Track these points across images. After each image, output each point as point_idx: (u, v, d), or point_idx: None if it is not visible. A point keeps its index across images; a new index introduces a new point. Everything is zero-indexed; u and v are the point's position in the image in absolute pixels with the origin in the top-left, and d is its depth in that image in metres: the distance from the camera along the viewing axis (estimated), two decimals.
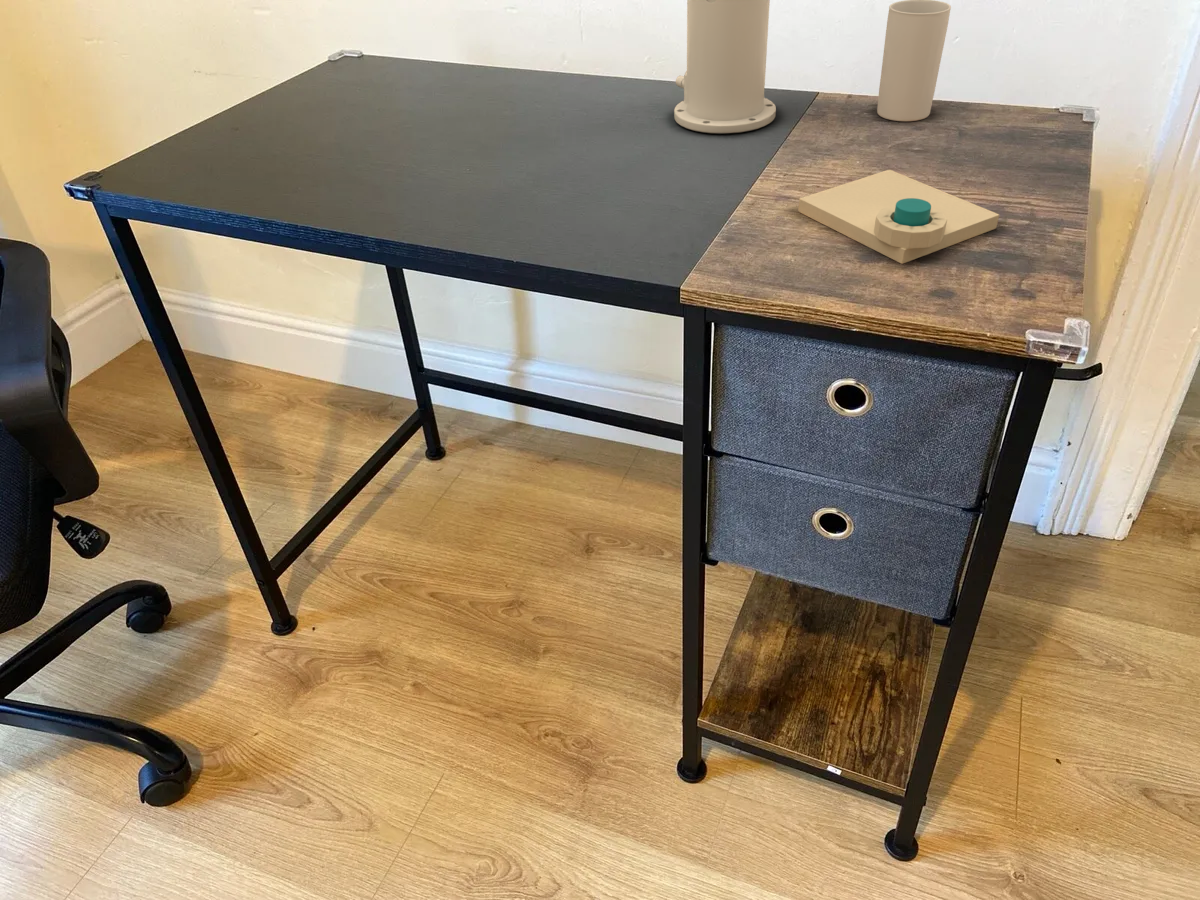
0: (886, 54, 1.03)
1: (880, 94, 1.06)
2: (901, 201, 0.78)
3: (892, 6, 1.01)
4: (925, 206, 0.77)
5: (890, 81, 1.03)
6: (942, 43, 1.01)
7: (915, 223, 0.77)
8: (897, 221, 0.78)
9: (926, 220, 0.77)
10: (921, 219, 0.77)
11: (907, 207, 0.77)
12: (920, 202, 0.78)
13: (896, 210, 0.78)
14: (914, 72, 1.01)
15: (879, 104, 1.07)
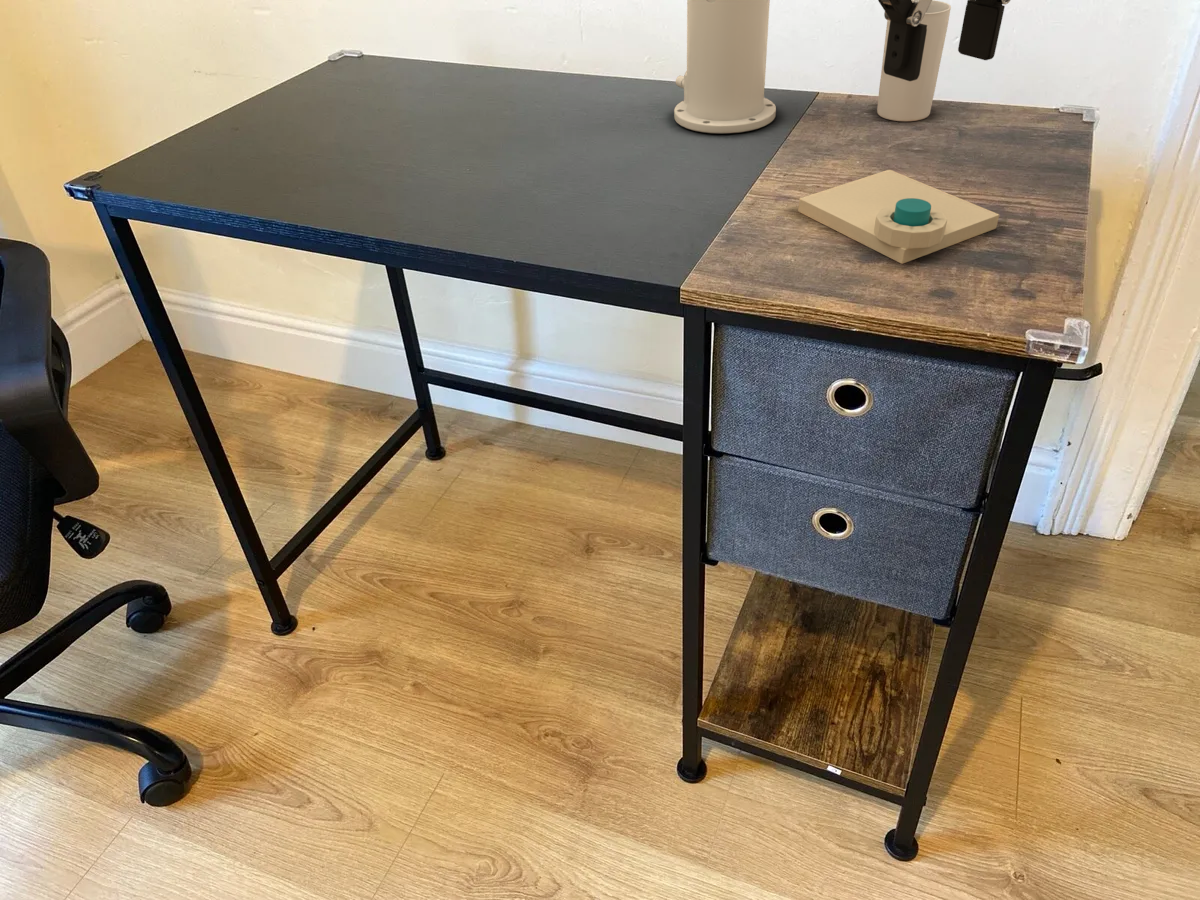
0: None
1: (880, 94, 1.06)
2: (901, 201, 0.78)
3: None
4: (925, 206, 0.77)
5: (890, 81, 1.03)
6: (942, 43, 1.01)
7: (915, 223, 0.77)
8: (897, 221, 0.78)
9: (926, 220, 0.77)
10: (921, 219, 0.77)
11: (907, 207, 0.77)
12: (920, 202, 0.78)
13: (896, 210, 0.78)
14: None
15: (879, 104, 1.07)
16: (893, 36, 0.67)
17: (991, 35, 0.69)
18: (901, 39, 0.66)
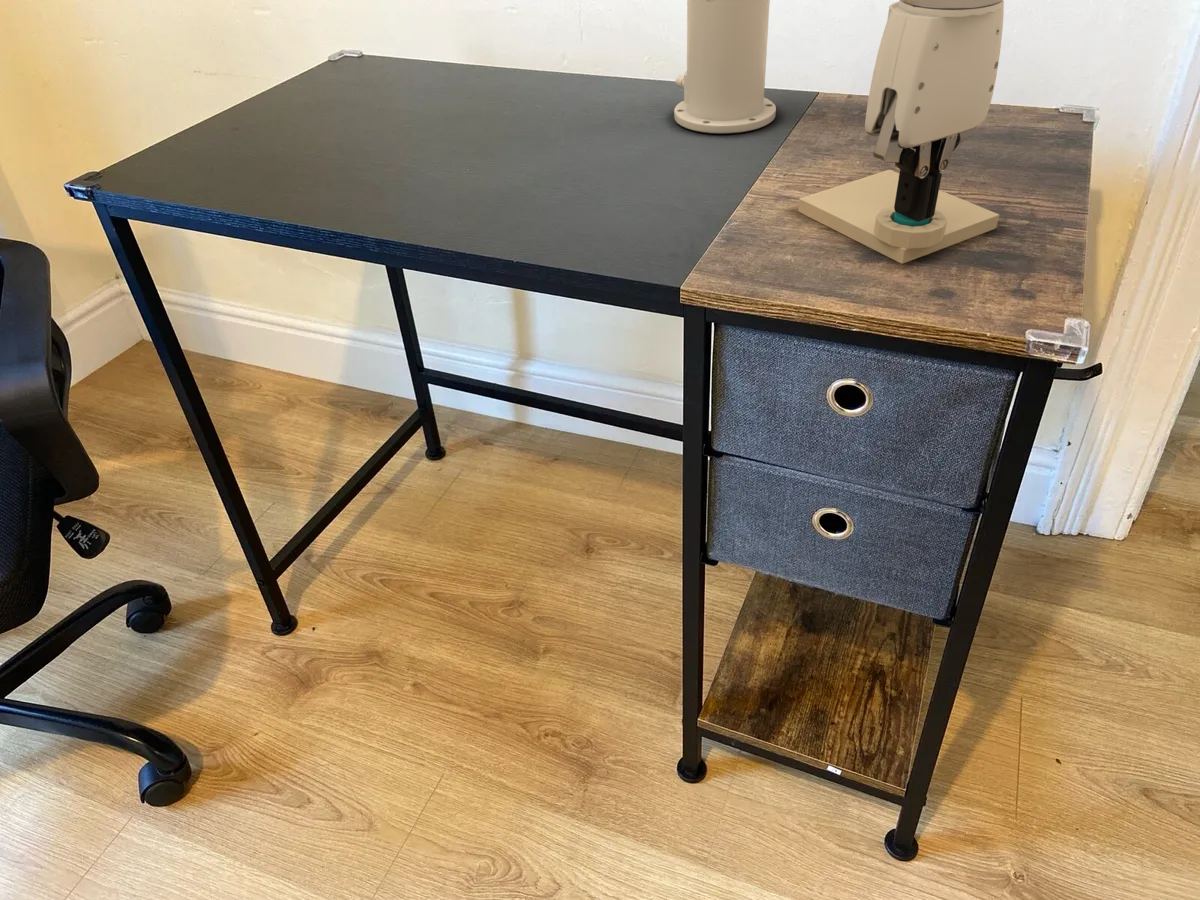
0: None
1: None
2: None
3: (892, 6, 1.01)
4: None
5: None
6: None
7: None
8: None
9: None
10: None
11: None
12: None
13: (895, 219, 0.78)
14: None
15: None
16: (902, 183, 0.76)
17: (930, 198, 0.76)
18: (910, 187, 0.75)
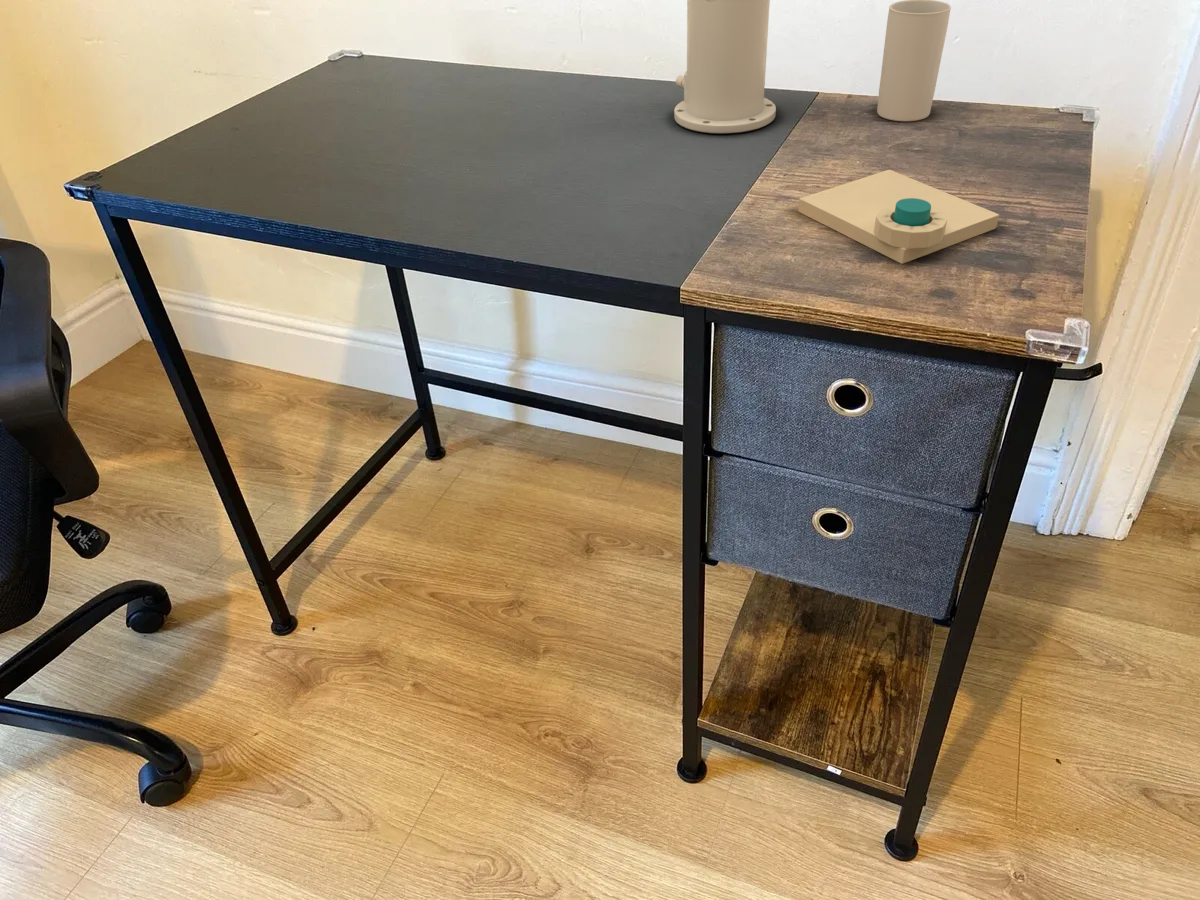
0: (886, 54, 1.03)
1: (880, 94, 1.06)
2: (901, 201, 0.78)
3: (892, 6, 1.01)
4: (925, 206, 0.77)
5: (890, 81, 1.03)
6: (942, 43, 1.01)
7: (915, 223, 0.77)
8: (897, 221, 0.78)
9: (926, 220, 0.77)
10: (921, 219, 0.77)
11: (907, 207, 0.77)
12: (920, 202, 0.78)
13: (896, 210, 0.78)
14: (914, 72, 1.01)
15: (879, 104, 1.07)
16: None
17: None
18: None
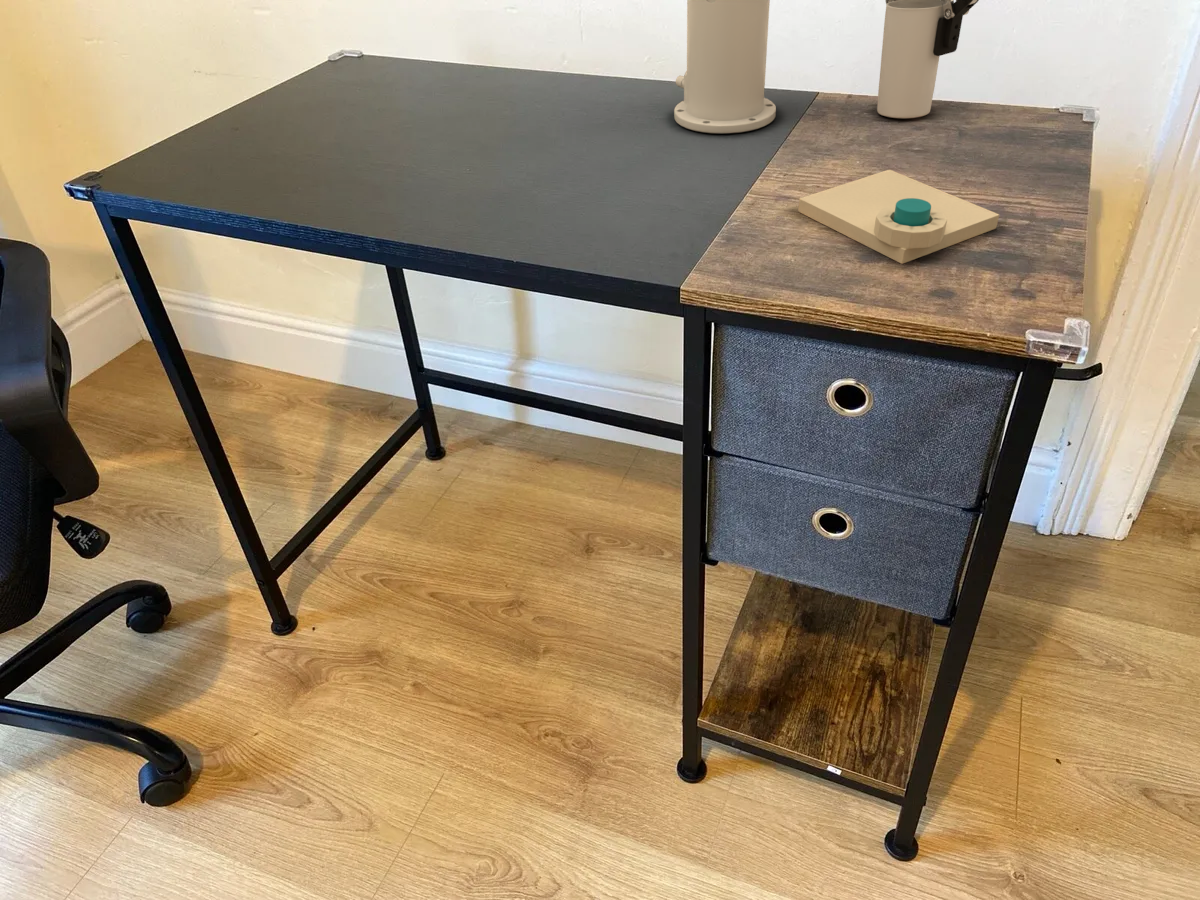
0: (884, 52, 1.03)
1: (880, 92, 1.06)
2: (901, 201, 0.78)
3: (889, 4, 1.02)
4: (925, 206, 0.77)
5: (889, 78, 1.03)
6: None
7: (915, 223, 0.77)
8: (897, 221, 0.78)
9: (926, 220, 0.77)
10: (921, 219, 0.77)
11: (907, 207, 0.77)
12: (920, 202, 0.78)
13: (896, 210, 0.78)
14: (913, 68, 1.01)
15: (879, 102, 1.07)
16: None
17: (936, 37, 1.00)
18: None
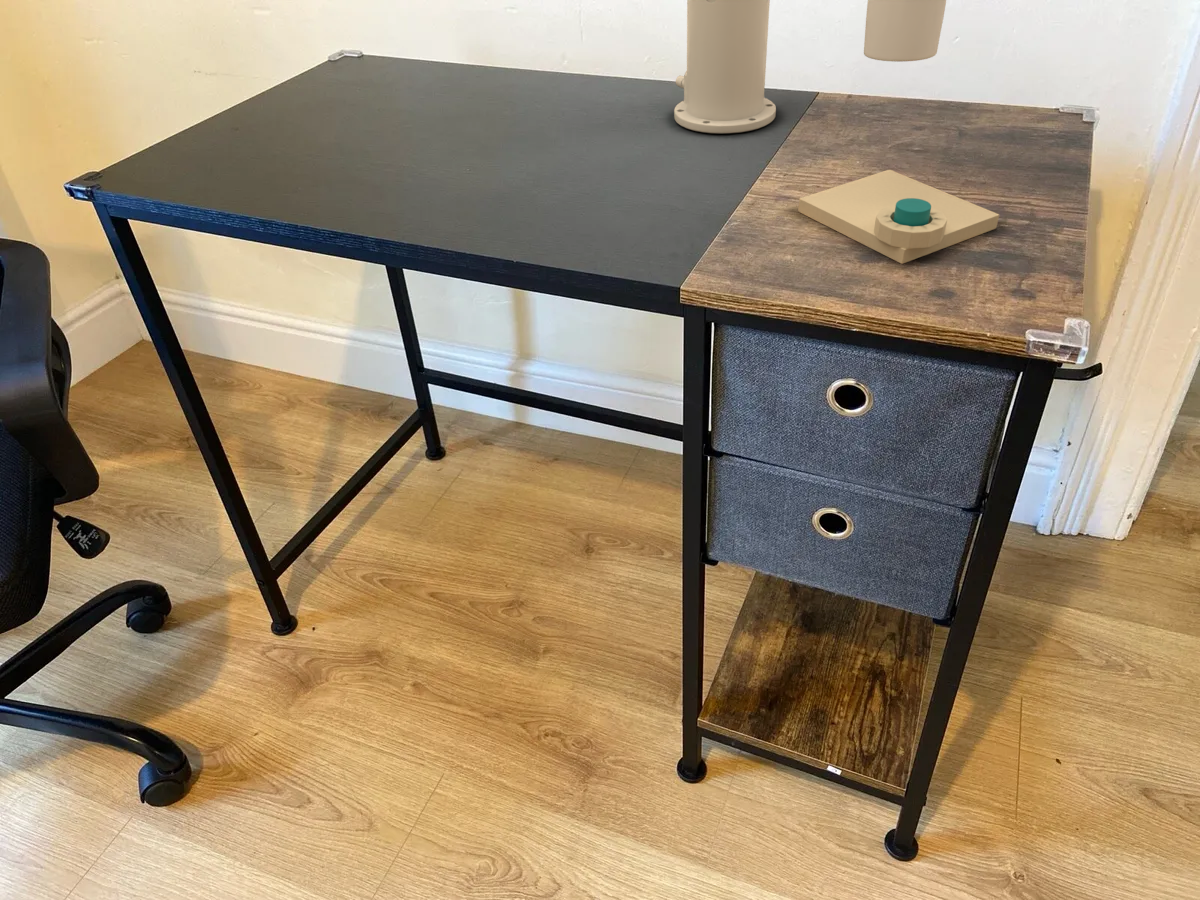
0: None
1: (867, 26, 0.76)
2: (901, 201, 0.78)
3: None
4: (925, 206, 0.77)
5: (881, 4, 0.74)
6: None
7: (915, 223, 0.77)
8: (897, 221, 0.78)
9: (926, 220, 0.77)
10: (921, 219, 0.77)
11: (907, 207, 0.77)
12: (920, 202, 0.78)
13: (896, 210, 0.78)
14: None
15: (866, 41, 0.77)
16: None
17: None
18: None
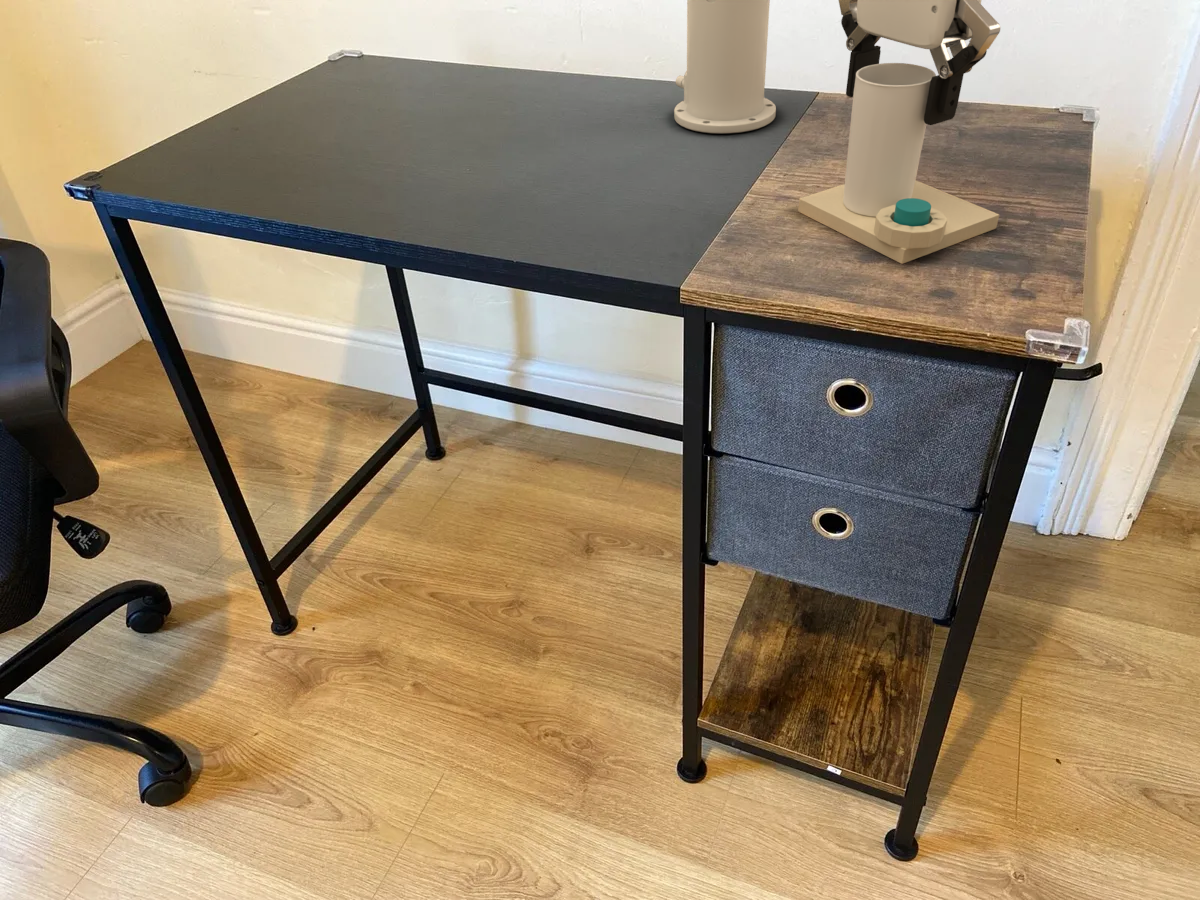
0: (852, 133, 0.80)
1: (846, 181, 0.83)
2: (901, 201, 0.78)
3: (860, 72, 0.78)
4: (925, 206, 0.77)
5: (858, 167, 0.80)
6: None
7: (915, 223, 0.77)
8: (897, 221, 0.78)
9: (926, 220, 0.77)
10: (921, 219, 0.77)
11: (907, 207, 0.77)
12: (920, 202, 0.78)
13: (896, 210, 0.78)
14: (888, 158, 0.78)
15: (845, 193, 0.83)
16: None
17: (927, 101, 0.75)
18: None
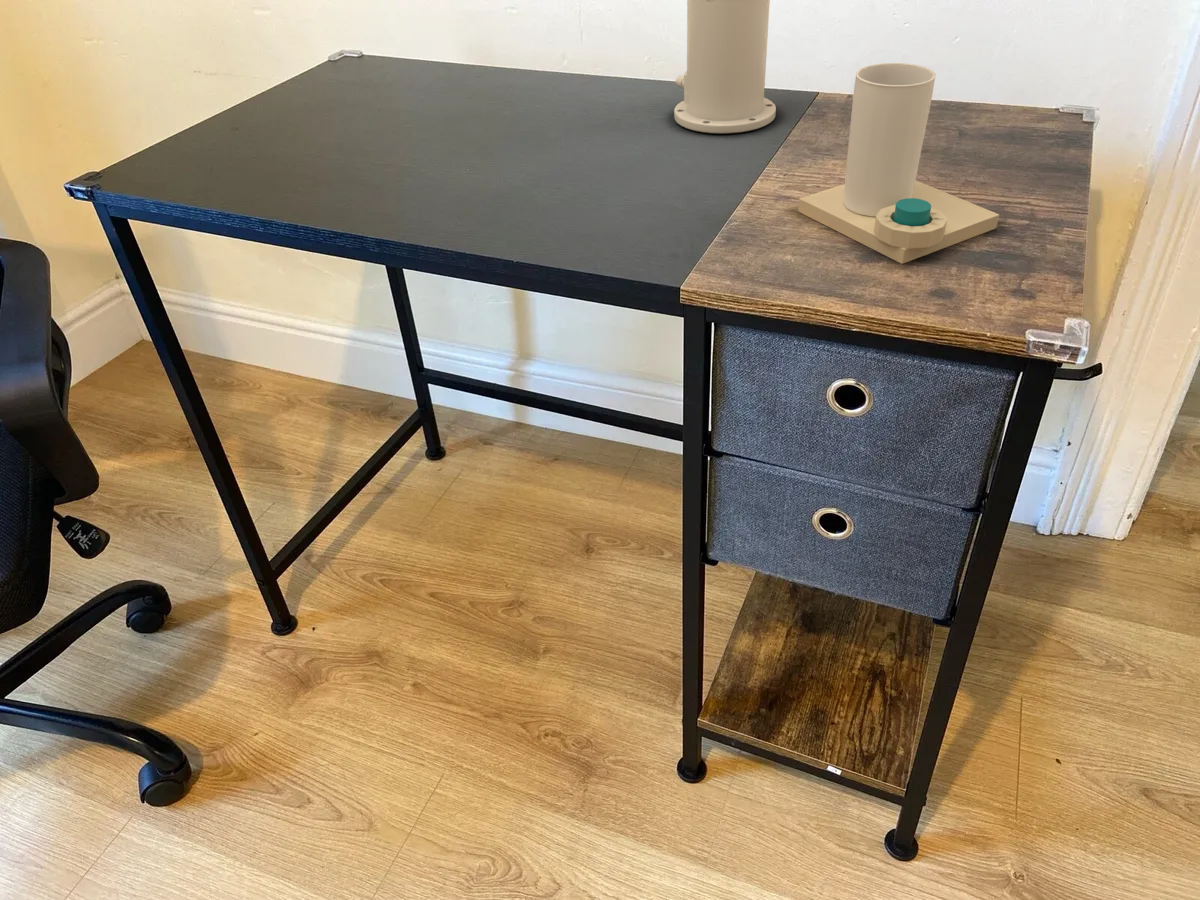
0: (852, 133, 0.80)
1: (846, 181, 0.83)
2: (901, 201, 0.78)
3: (860, 72, 0.78)
4: (925, 206, 0.77)
5: (858, 167, 0.80)
6: (924, 121, 0.77)
7: (915, 223, 0.77)
8: (897, 221, 0.78)
9: (926, 220, 0.77)
10: (921, 219, 0.77)
11: (907, 207, 0.77)
12: (920, 202, 0.78)
13: (896, 210, 0.78)
14: (888, 158, 0.78)
15: (845, 193, 0.83)
16: None
17: None
18: None
